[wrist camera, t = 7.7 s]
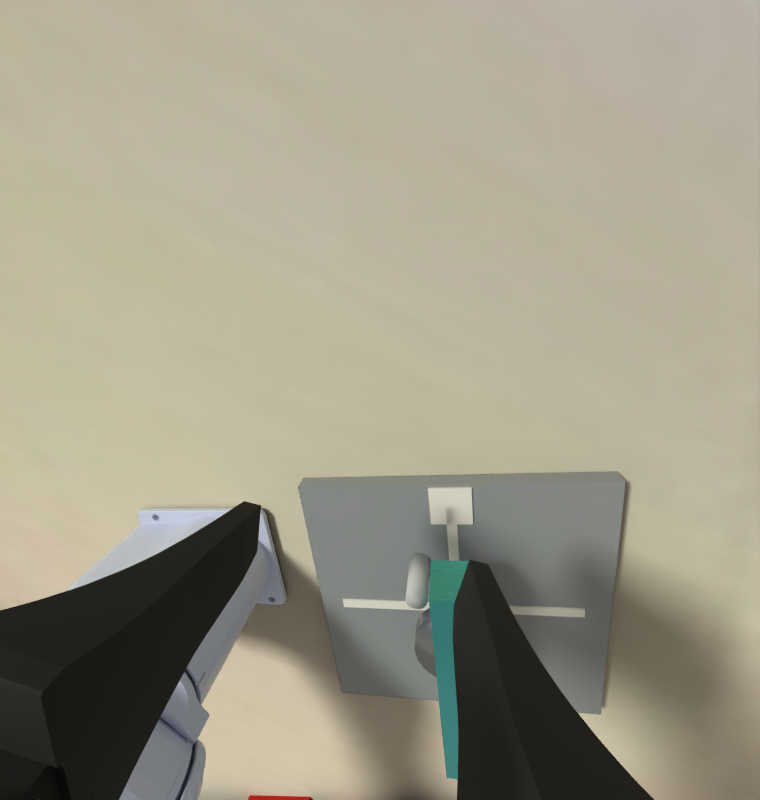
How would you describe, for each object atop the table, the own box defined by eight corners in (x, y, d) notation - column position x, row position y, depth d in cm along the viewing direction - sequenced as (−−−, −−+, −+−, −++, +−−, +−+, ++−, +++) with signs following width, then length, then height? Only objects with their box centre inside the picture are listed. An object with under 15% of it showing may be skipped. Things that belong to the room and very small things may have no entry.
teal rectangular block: (503, 711, 24) (513, 785, 21) (424, 704, 25) (421, 774, 22) (500, 544, 20) (511, 603, 17) (405, 543, 21) (398, 599, 18)
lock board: (345, 678, 30) (331, 738, 26) (303, 478, 24) (278, 518, 20) (595, 698, 27) (619, 769, 23) (617, 471, 21) (655, 517, 17)
